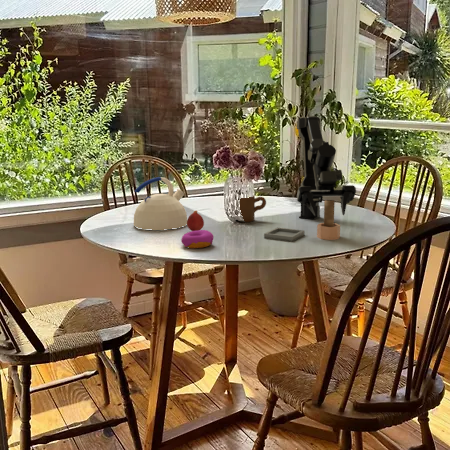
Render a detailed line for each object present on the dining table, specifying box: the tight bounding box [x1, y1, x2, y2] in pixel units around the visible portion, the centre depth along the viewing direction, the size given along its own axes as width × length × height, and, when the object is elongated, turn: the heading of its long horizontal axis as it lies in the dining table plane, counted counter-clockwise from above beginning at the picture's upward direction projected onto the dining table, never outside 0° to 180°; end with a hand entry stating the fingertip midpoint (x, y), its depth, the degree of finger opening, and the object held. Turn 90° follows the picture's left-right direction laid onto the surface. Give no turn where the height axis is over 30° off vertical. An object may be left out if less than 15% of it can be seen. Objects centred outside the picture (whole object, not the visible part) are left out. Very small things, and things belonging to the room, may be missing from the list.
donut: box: [180, 229, 215, 249], centre depth 166 cm, size 10×10×4 cm
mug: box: [240, 195, 267, 223], centre depth 200 cm, size 12×8×9 cm, turn 90°
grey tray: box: [263, 227, 305, 243], centre depth 174 cm, size 10×10×2 cm
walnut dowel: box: [323, 199, 335, 227], centre depth 171 cm, size 3×3×12 cm
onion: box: [187, 210, 205, 232], centre depth 182 cm, size 6×6×8 cm
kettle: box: [133, 176, 188, 230], centre depth 194 cm, size 20×21×18 cm
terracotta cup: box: [316, 222, 341, 241], centre depth 172 cm, size 7×7×4 cm
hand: (329, 214), depth 170 cm, fingers open, 9 cm apart
